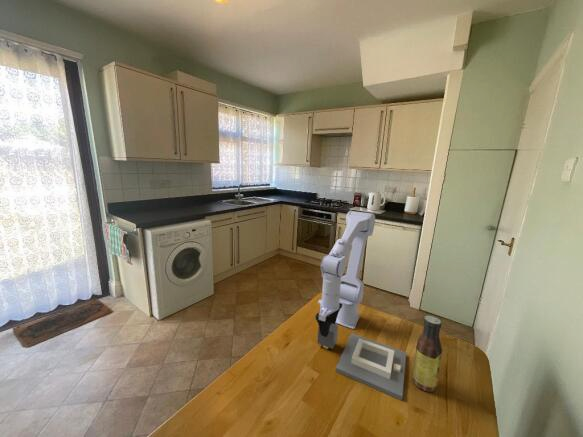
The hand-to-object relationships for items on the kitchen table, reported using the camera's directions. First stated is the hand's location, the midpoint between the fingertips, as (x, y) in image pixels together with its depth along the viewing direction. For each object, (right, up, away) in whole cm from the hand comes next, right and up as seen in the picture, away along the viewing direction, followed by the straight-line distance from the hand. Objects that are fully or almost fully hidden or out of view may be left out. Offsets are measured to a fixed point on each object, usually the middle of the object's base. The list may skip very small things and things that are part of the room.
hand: (328, 329), depth 79 cm
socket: (+13, -8, -6) cm, 16 cm away
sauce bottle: (+25, -10, -12) cm, 30 cm away
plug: (0, -6, +1) cm, 6 cm away
